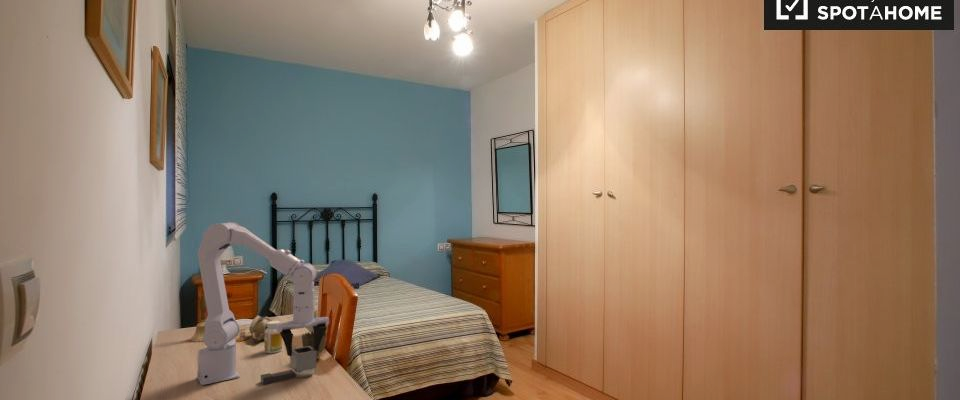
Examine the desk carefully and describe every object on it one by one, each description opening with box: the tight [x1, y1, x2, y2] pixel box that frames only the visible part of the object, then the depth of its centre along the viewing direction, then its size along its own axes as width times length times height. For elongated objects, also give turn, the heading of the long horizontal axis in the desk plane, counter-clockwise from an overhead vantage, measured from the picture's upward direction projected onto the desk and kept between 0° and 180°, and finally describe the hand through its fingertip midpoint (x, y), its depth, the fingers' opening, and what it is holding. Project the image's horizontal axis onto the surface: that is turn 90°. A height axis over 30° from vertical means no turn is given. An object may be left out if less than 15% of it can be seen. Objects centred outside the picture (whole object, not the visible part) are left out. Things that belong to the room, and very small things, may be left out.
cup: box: [301, 330, 327, 361], centre depth 147 cm, size 8×7×8 cm
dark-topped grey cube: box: [289, 346, 317, 372], centre depth 134 cm, size 6×6×5 cm
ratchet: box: [260, 368, 315, 386], centre depth 131 cm, size 14×6×5 cm, turn 129°
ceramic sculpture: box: [248, 314, 273, 342], centre depth 168 cm, size 11×9×15 cm
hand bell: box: [189, 294, 207, 343], centre depth 167 cm, size 8×8×16 cm
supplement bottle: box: [264, 320, 283, 354], centre depth 154 cm, size 5×5×10 cm
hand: (302, 352), depth 134 cm, fingers open, 7 cm apart
